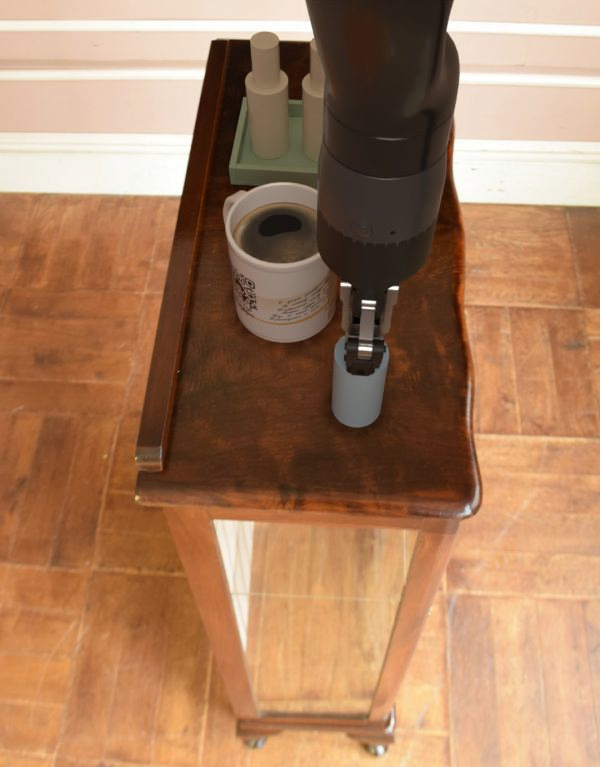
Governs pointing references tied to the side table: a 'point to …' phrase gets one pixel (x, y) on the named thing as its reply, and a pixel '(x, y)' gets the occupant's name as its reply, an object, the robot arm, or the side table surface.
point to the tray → (266, 171)
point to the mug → (278, 262)
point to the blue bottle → (356, 390)
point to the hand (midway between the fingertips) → (361, 351)
